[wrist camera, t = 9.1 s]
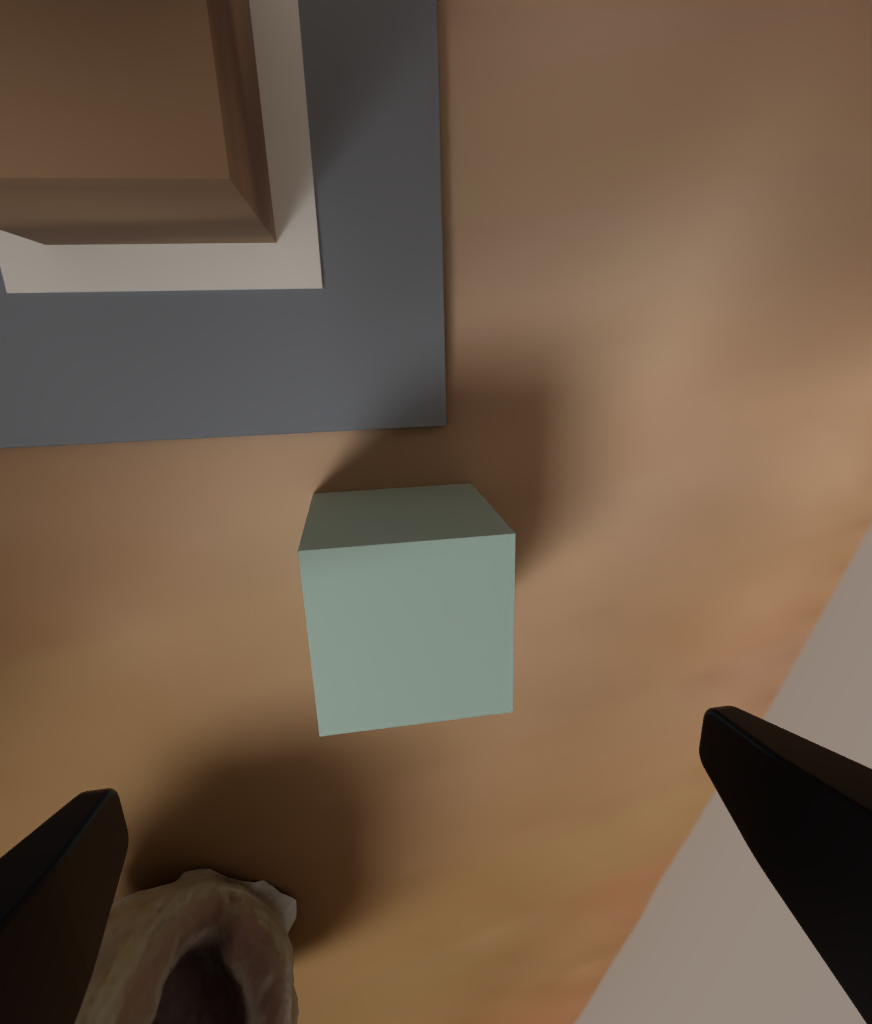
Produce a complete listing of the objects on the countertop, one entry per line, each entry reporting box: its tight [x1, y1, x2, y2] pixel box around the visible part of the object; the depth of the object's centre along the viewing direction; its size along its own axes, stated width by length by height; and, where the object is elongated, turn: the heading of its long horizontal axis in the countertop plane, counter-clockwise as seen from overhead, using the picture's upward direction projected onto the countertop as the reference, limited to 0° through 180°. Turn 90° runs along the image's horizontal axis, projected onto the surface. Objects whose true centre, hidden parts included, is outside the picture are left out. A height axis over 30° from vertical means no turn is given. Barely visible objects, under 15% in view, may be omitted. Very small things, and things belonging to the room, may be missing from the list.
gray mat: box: [0, 0, 447, 448], centre depth 12 cm, size 14×13×1 cm
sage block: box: [298, 483, 516, 736], centre depth 14 cm, size 4×4×4 cm
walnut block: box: [0, 0, 276, 245], centre depth 9 cm, size 5×5×5 cm
